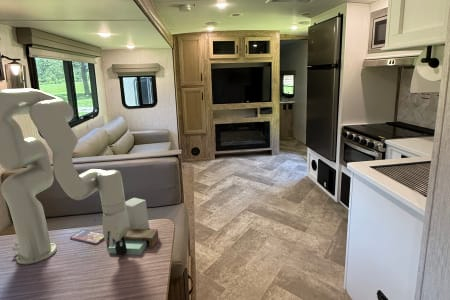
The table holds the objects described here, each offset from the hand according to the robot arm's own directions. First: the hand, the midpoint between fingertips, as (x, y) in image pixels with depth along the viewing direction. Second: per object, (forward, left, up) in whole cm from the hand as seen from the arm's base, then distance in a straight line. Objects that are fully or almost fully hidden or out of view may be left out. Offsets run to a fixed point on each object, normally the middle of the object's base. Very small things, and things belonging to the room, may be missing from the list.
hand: (121, 254), depth 104 cm
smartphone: (-20, +12, -2) cm, 24 cm away
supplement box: (-3, +19, -1) cm, 20 cm away
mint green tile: (0, +5, -1) cm, 5 cm away
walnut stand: (0, +9, -1) cm, 9 cm away
